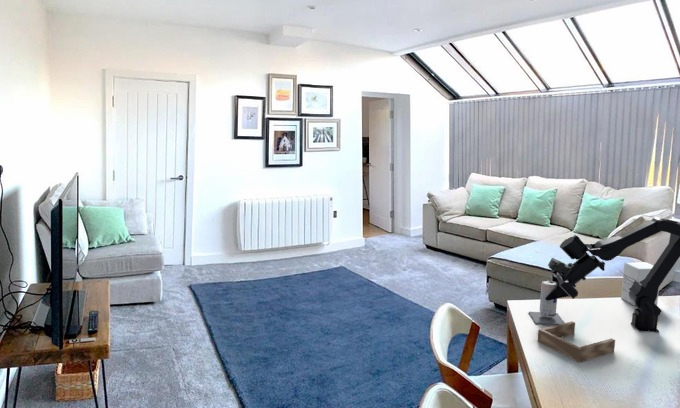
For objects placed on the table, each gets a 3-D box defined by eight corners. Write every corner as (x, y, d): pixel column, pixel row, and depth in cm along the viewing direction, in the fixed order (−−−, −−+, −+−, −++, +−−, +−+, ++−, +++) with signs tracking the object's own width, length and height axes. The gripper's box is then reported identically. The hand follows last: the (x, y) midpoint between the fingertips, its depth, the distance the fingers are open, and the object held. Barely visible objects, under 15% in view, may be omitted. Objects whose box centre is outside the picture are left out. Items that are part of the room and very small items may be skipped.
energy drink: (558, 314, 172) (560, 282, 170) (552, 319, 169) (554, 286, 167) (543, 310, 176) (545, 279, 174) (536, 315, 172) (538, 282, 170)
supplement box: (641, 297, 194) (645, 261, 192) (657, 306, 186) (662, 268, 183) (620, 298, 194) (623, 261, 191) (634, 306, 185) (639, 268, 182)
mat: (557, 314, 177) (557, 313, 177) (565, 325, 167) (565, 324, 167) (528, 313, 178) (528, 311, 178) (535, 324, 169) (535, 322, 168)
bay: (571, 332, 162) (572, 321, 161) (613, 352, 148) (615, 339, 147) (537, 341, 156) (538, 329, 155) (578, 362, 142) (580, 349, 141)
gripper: (559, 245, 177) (525, 272, 181) (569, 259, 159) (531, 288, 163) (581, 267, 176) (546, 294, 180) (594, 283, 158) (555, 313, 163)
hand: (544, 296), depth 172 cm, fingers closed on energy drink, 5 cm apart
